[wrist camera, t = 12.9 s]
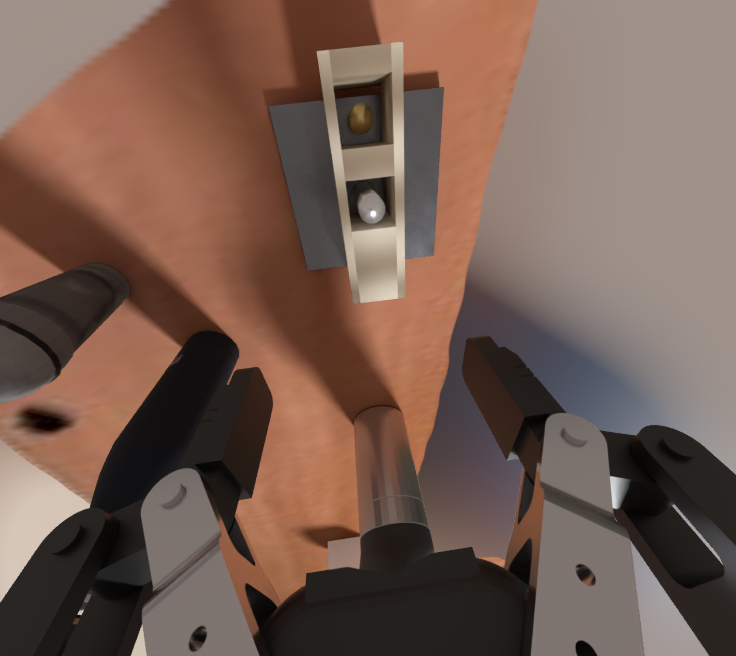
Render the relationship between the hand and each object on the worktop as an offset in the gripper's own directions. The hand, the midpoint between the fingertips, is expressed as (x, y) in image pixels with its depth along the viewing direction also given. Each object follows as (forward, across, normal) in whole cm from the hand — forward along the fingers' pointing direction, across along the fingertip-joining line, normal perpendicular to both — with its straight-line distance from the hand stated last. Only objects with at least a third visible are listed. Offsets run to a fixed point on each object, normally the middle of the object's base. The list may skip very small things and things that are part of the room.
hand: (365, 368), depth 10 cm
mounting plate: (+21, -2, -3) cm, 22 cm away
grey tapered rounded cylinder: (+22, +27, +3) cm, 35 cm away
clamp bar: (+20, -2, -3) cm, 21 cm away
